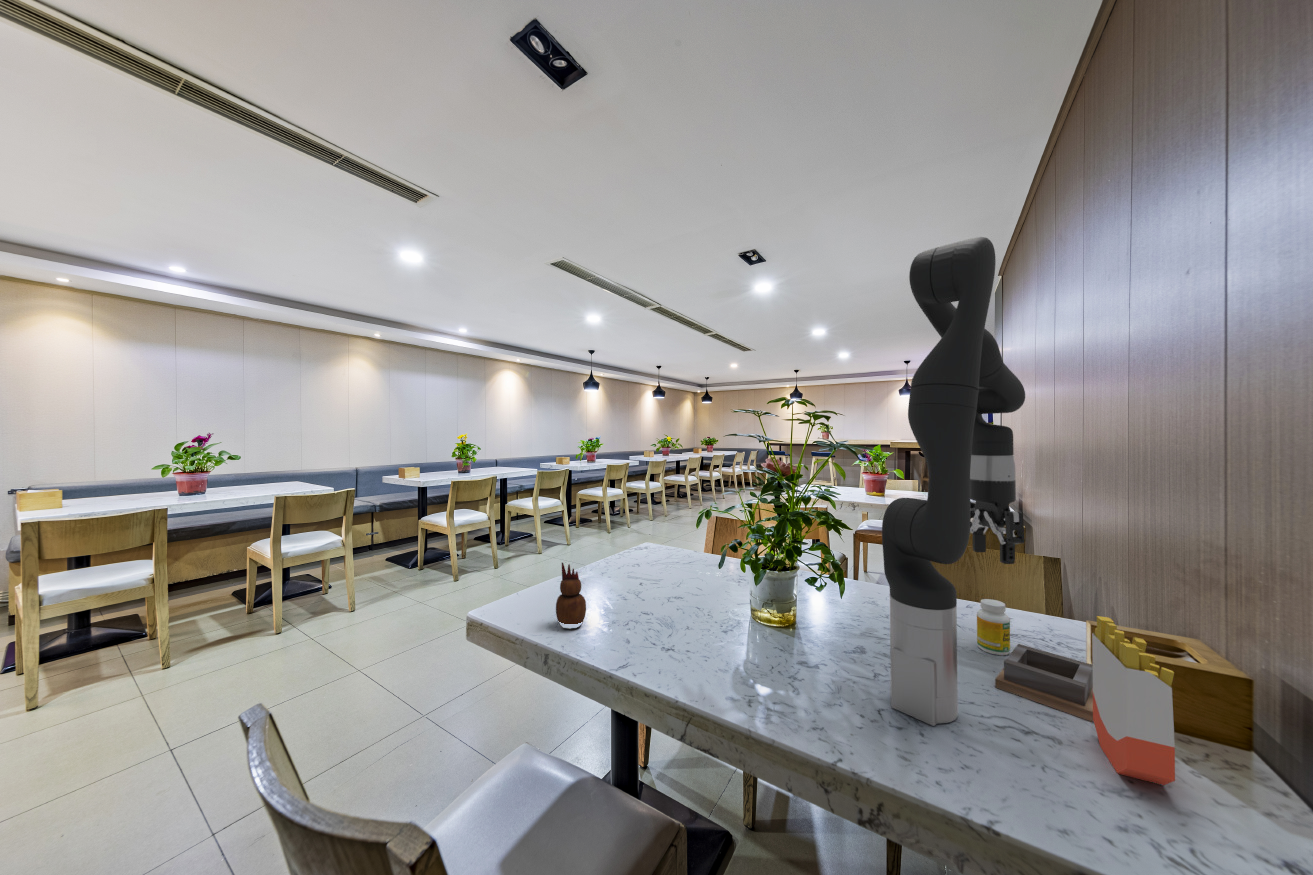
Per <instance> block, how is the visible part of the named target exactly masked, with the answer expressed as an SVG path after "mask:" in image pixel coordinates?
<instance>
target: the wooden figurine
mask: <svg viewBox="0 0 1313 875" xmlns="http://www.w3.org/2000/svg"><path fill="white" fill-rule="evenodd" d="M559 591H560V593H561V594H559V595H558V597H557V599H556V603H555V615H556V618H557V622H558V621H559V622H561V623H564V624H578V623H581V622H584V620H585V617H586V613H587V604H586V599H585V597H584V596H583V595H582V594H581V593H580V592H581V591H582V582H581V580H580V576H579V572H578V571H576V572H575V568H574V567H573V568H572V569H571V564H570V563H569V564H568V566H567V570H566V568H565V563H564V562H561V580H560V584H559ZM559 622H558V623H559Z"/></svg>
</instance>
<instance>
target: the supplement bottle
mask: <svg viewBox="0 0 1313 875" xmlns="http://www.w3.org/2000/svg"><path fill="white" fill-rule="evenodd" d="M1006 610H1007V607H1006V603H1005V602H1002V601H1000V600H997V599H992V598H991V599H990V598H989V599H988V598H984V599H983V598H982V599H981V600H980V609H978V610H977V611H976V644H977V647H978V648H979V649H980V650H982V651H984V652H985V653H988V654H992V655H995V656H996V655H997V656H1007V655H1010V654H1011V619H1010V617H1009V615H1008V614H1007V613H1005V612H1006Z"/></svg>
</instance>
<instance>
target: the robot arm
mask: <svg viewBox="0 0 1313 875" xmlns="http://www.w3.org/2000/svg"><path fill="white" fill-rule="evenodd" d="M995 250H996V249H995V247H994V244H993V241H991V240H990V239H989V238H988V237H984V236H979V237H978V236H977V237H973V238H968V239H964V240H960V241H956V242H952V243H948V244H945V245H941V246H937V247H933V248H929V249H927V250H923V251H922V252H919V253H918V254H917V255H916V256H915V257H914V258H913V260H912V262H911V264H910V267H909V276H908V278H909V285H910V286H909V287H910V290H911V293H912V295H913V297H914V300H915V301H916V303H917V305H918V306H919V308H920V309H921V311H922V312H923V314H924V315H925V317H926V318H927V320H928V321H929V323H930V324H931V325H932V326H933V328H934V330H935V331H936V332H937V334H938V335H939V336H940V340H939V341H938V342H937V343H936V345H935V346H934V347H933V348H932V349H931V351H930V352H929V353H928V354H927V356H926V357H925V358H924V359H923V360H922V361H921V364H920V365H919V366H918V368H917V369H916V371H915V373H914V375H913V376H912V379H911V383H910V390H909V399H908V408H907V418H908V423H909V427H910V430H911V432H912V435H913V436H914V438H915V440H916V443H917V444H918V447H919V449H920V450H921V452H922V455H923V457H924V459H925V463H926V466H927V471H928V474H927V475H928V488H927V489H928V490H927V491H928V492H927V499H920V498H915V497H914V498H912V497H899V498H896V499H895V500H892V501H891V502H890V504H888V506H887V507H886V509H885V512H884V513H883V517H882V524H881V543H882V544H881V545H882V555H883V569H884V570H883V571H884V576H885V579H886V582H887V583H888V587H889V636H890V639H889V642H890V643H889V644H890V645H889V646H890V648H889V649H890V650H889V651H890V652H889V654H890V657H889V659H890V661H889V662H890V663H889V664H890V699H891V702H890V704H891V706H890V707H891V708H892V709H894V710H896V711H898V712H901V713H903V714H905V715H907V716H911V717H913V718H914V719H917V720H919V721H921V722H924V723H925V724H928V725H930V726H933V727H935V726H936V725H938V724H947V723H952V722H954V721H955V720H956V719H958V714H959V708H958V706H959V704H958V703H959V702H958V700H959V699H958V698H959V697H958V696H959V695H958V693H959V692H958V691H959V690H958V631H957V629H958V626H957V624H958V623H957V622H958V620H957V619H958V616H957V615H958V614H957V609H958V608H957V606H958V605H957V600H958V599H957V597H958V595H957V590H956V587H955V586H954V584H953V583H952V582H951V581H950V580H948V579H947V578H946V577H944V576H943V575H942V574H941V573H940V572H939V571H938V570H937V569H936V568H935V567H934V565H933V564H932V562H933V563H937V564H941V565H952V564H955V563H956V562H958V561H959V560H960V559H961V558H962V557H963V556H964V554H965V552H966V549H967V548H968V545H969V540H970V535H971V534H972V550H973V551H974V552H975V553H985V552H986V551H987V536H986V532H987V530H988V529H991V531H992V532H993V534H995V535H996V537H997V538H998V541H999V562H1000V563H1002V564H1003V565H1013V564H1015V563H1016V545H1019V544H1024V543H1025V540H1026V539H1025V526H1024V524H1025V523H1024V512H1023V511H1020V510H1018V511H1017V510H1015V511H1014V510H1013V511H1011V508H1010V504H1011V503H1014V502H1016V501H1017V500H1016V498H1017V496H1016V495H1017V494H1016V491H1017V490H1016V489H1017V488H1016V486H1017V485H1016V481H1017V480H1016V462H1015V459H1014V432H1013V428H1011V427H1009V426H1006V425H1000V424H994V423H993V424H992V423H989V422H987V421H986V420H985V419H984V418H983V415H985V414H986V415H987V414H1009V413H1015V412H1016V411H1018V410H1019V409H1021V407H1022V406H1023V405H1024V403H1025V400H1026V390H1025V388H1024V385H1023V383H1022V382H1021V380H1020V379H1019V378H1018V376H1016V375H1015V373H1013V371H1012V370H1011V369H1009V367H1008V366H1007V365H1006V364H1005V362H1004V360H1003V357H1002V354H1001V350H1000V347H999V345H998V342H997V340H996V338H995V337H994V335H993V334H992V333H991V332H990V331H989V330H987V329H986V322H987V318H988V312H989V308H990V302H991V298H992V292H993V286H994V282H995V273H996V261H997V260H996V251H995ZM955 302H958V304H957V306H955V305H954V304H953V303H955ZM1015 531H1016V535H1015Z"/></svg>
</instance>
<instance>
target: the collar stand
mask: <svg viewBox="0 0 1313 875" xmlns="http://www.w3.org/2000/svg"><path fill="white" fill-rule="evenodd" d="M994 681H995V682H994V683H995V684H994V686H995V688H996V689H999V690H1001V691H1004V692H1007V693H1009V694H1012V693H1013V695H1015V694H1016V695H1015V696H1018V695H1019V696H1018V697H1021V696H1022V698H1024V699H1027V698H1028V699H1027V700H1029V699H1030V701H1032V700H1033V701H1032V702H1036V703H1037V704H1038V703H1039V704H1041V705H1043V706H1048V707H1050V708H1052V709H1055V710H1058V711H1061V712H1064V713H1066V714H1069V715H1071V716H1075V717H1078V718H1080V719H1083V720H1085V721H1089V722H1091V723H1094V720H1093V663H1092V664H1091V663H1087V662H1084V661H1080V660H1078V659H1077V660H1076V659H1073V658H1070V657H1067V656H1062V655H1059V654H1055V653H1052V652H1048V651H1045V650H1042V649H1038V648H1035V647H1031V646H1028V645H1025V644H1021V643H1018V644H1017V645H1016V646H1015V647H1014V649H1013V650H1011V651H1010V653H1009V654H1008V656H1007V657H1006V659H1004V661H1003V668H1002V669H1001V671H999V673H998V675H997V676H996V677H995V679H994Z"/></svg>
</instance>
